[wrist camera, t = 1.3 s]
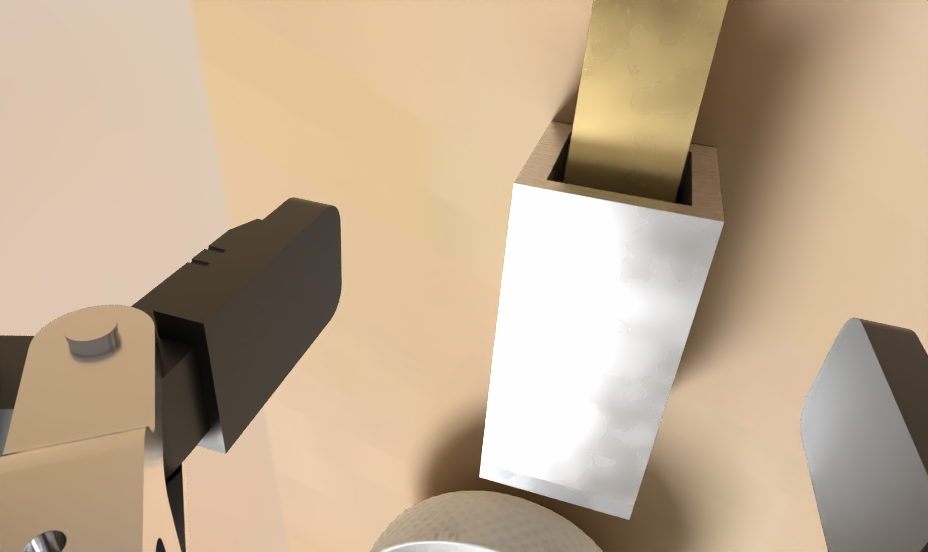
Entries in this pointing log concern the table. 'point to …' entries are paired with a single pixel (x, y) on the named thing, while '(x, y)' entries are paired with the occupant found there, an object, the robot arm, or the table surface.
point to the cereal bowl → (482, 526)
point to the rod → (641, 94)
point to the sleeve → (593, 326)
